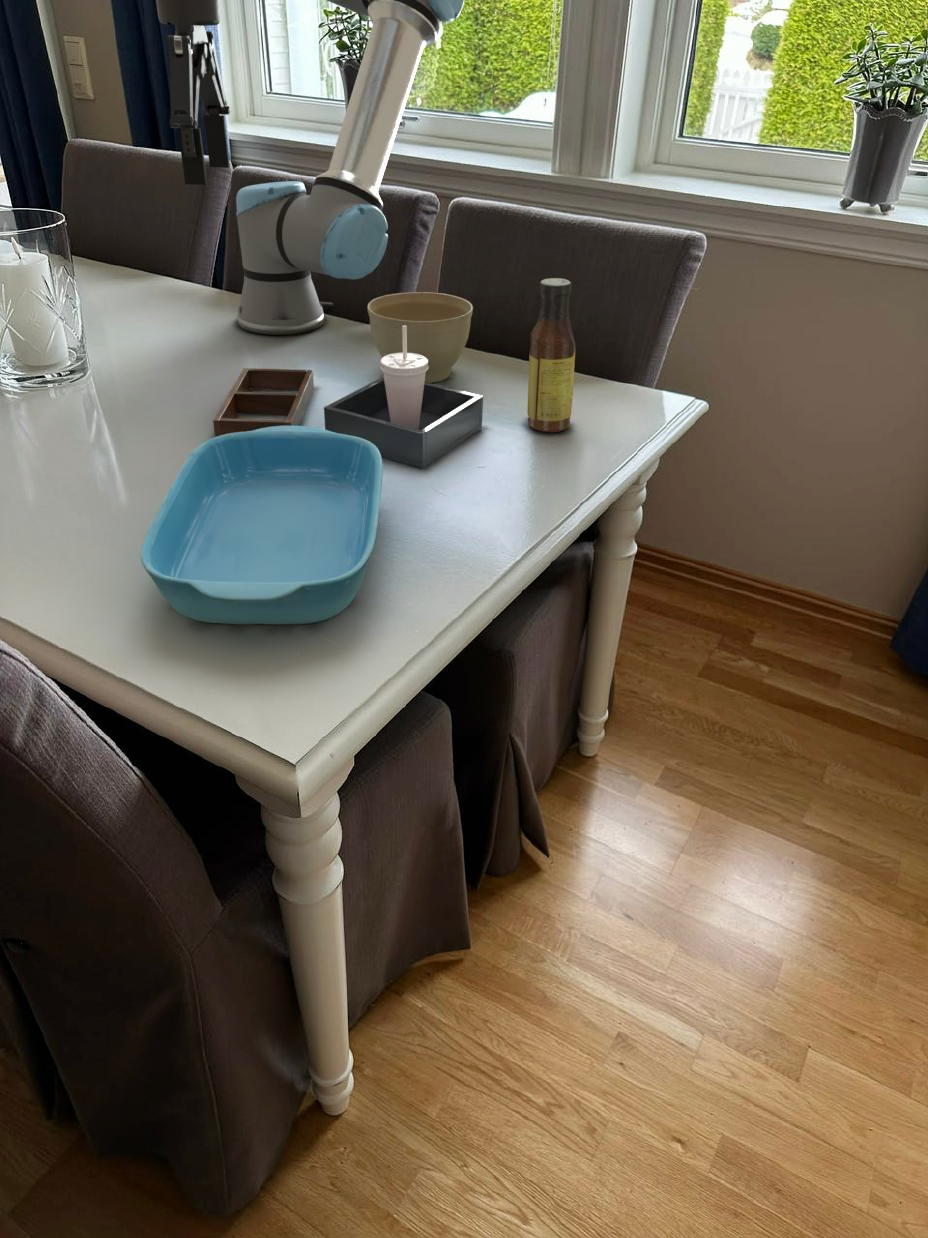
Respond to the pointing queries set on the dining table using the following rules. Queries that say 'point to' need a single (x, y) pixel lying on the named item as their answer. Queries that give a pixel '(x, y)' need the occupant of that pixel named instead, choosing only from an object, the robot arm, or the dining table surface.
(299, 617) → the casserole dish
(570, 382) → the sauce bottle
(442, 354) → the planter bowl
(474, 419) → the dark grey square tray
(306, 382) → the brown shallow wooden box
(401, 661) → the dining table surface
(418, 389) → the smoothie
